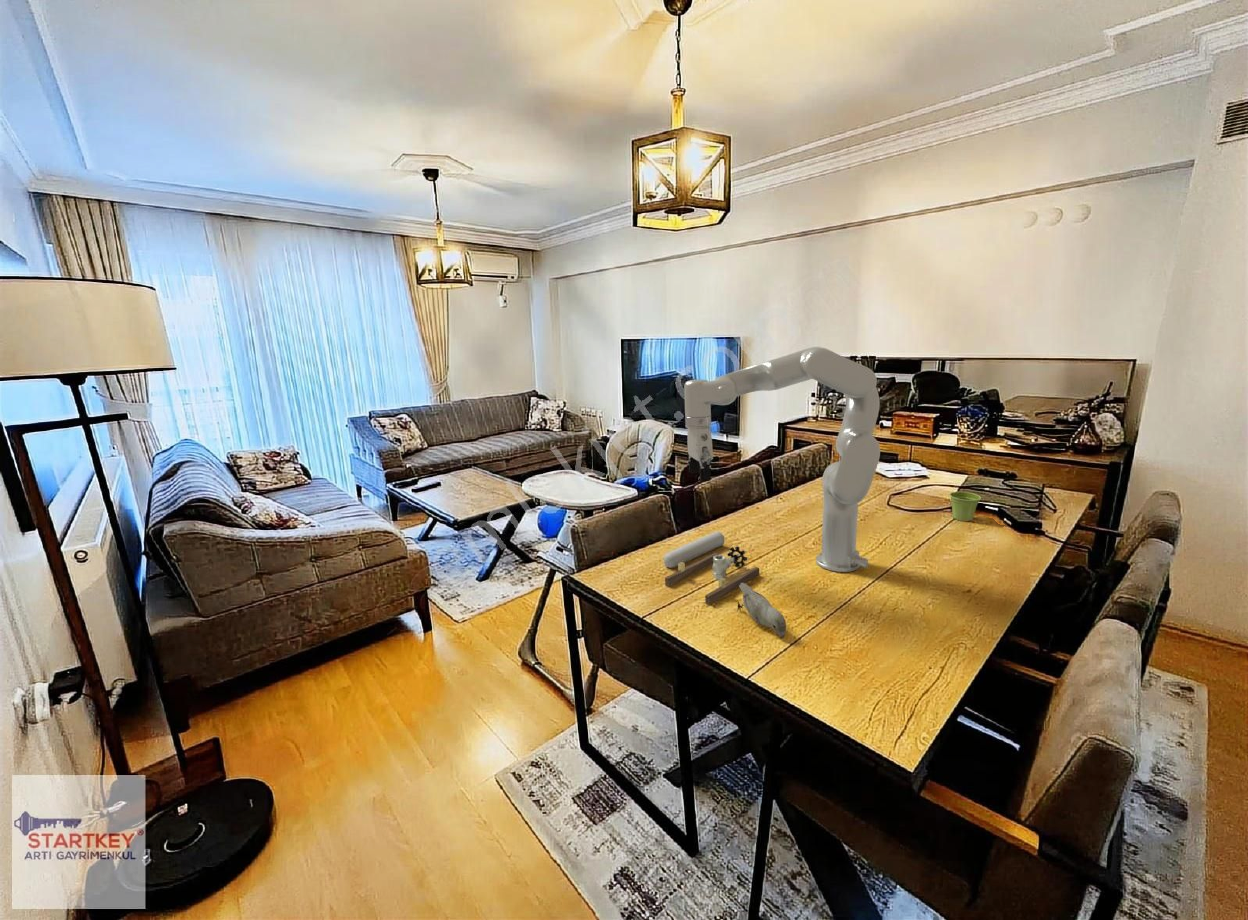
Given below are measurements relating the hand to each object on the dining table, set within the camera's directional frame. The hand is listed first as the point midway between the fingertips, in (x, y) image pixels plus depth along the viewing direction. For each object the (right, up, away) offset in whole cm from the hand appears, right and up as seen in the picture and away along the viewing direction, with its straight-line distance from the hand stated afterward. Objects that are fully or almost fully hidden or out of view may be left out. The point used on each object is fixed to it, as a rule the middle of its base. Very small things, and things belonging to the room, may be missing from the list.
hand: (699, 476), depth 157 cm
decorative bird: (+11, -36, -28) cm, 47 cm away
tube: (0, -27, +11) cm, 29 cm away
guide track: (+3, -30, -6) cm, 31 cm away
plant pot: (+99, -16, +28) cm, 104 cm away
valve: (+8, -29, -1) cm, 30 cm away
